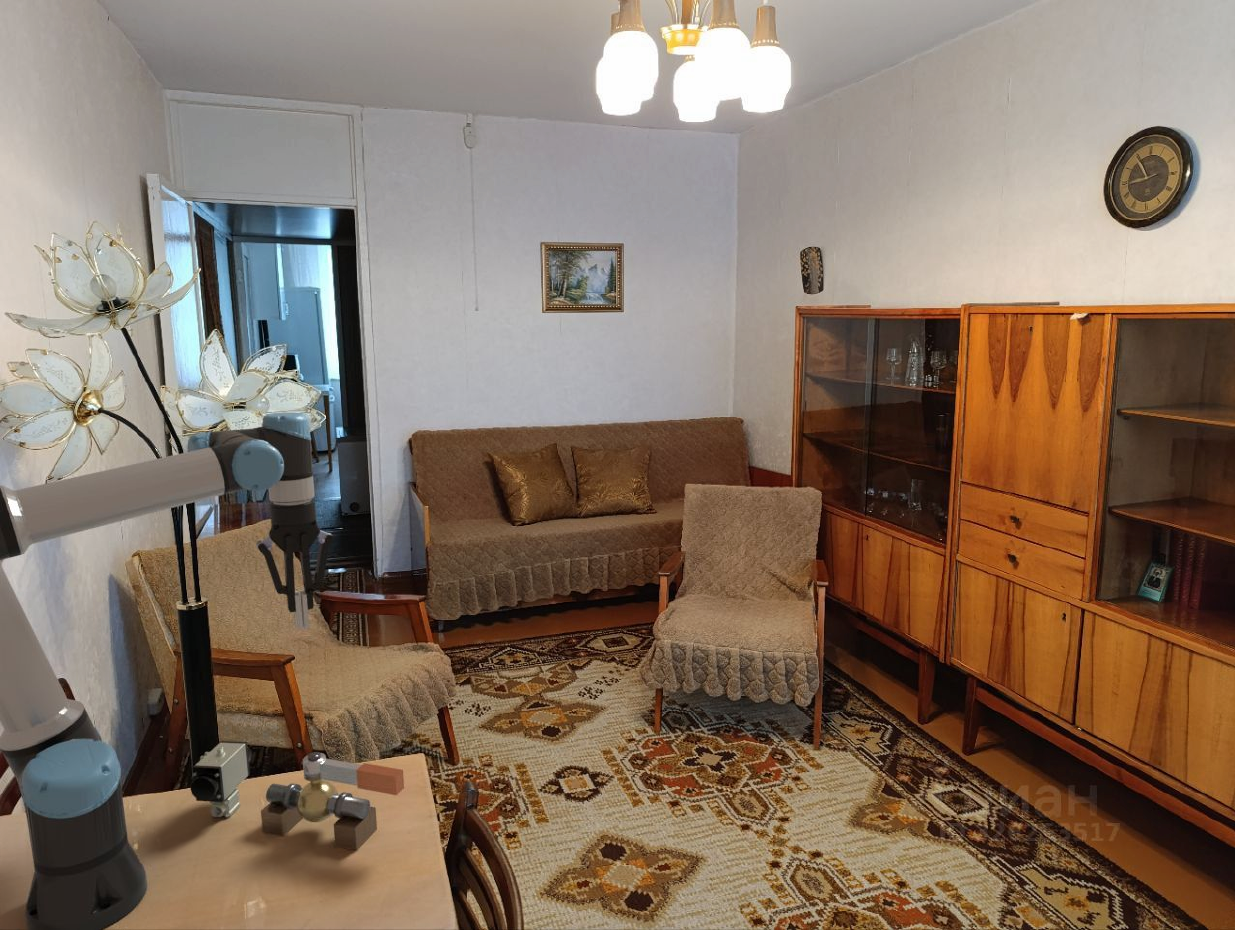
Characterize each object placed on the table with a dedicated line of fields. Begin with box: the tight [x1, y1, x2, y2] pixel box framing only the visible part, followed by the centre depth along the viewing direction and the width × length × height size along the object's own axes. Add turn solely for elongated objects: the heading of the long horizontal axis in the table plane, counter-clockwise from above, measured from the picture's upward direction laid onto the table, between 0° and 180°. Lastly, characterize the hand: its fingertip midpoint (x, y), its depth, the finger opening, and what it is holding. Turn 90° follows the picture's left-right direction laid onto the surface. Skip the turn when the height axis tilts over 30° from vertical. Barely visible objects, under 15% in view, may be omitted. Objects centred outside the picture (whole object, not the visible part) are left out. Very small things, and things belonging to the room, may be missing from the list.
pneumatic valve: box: [190, 740, 253, 818], centre depth 147 cm, size 6×12×12 cm, turn 174°
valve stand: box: [260, 779, 378, 852], centre depth 142 cm, size 18×7×10 cm, turn 74°
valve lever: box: [302, 751, 405, 796], centre depth 138 cm, size 18×4×4 cm, turn 73°
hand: (302, 627), depth 154 cm, fingers closed
